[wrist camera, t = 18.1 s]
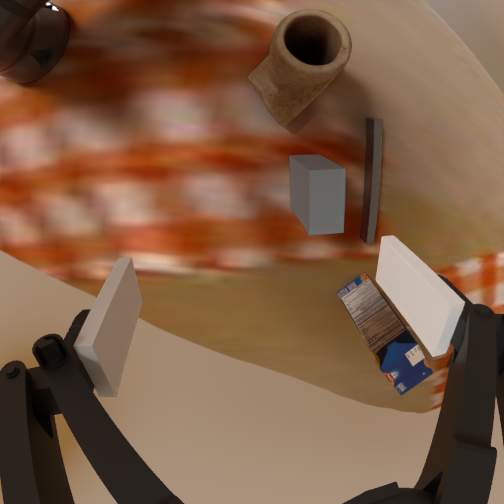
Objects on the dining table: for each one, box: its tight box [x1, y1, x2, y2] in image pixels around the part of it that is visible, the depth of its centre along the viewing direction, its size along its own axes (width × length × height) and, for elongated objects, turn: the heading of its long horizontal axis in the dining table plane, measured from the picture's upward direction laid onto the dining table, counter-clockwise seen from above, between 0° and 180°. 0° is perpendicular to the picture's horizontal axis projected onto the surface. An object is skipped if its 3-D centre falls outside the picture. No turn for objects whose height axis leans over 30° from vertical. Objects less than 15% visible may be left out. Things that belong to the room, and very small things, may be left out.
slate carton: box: [289, 154, 346, 236], centre depth 47 cm, size 9×5×12 cm, turn 4°
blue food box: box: [337, 272, 433, 395], centre depth 54 cm, size 7×11×22 cm, turn 39°
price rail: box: [360, 118, 382, 244], centre depth 52 cm, size 2×22×3 cm, turn 2°
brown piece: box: [248, 9, 352, 127], centre depth 37 cm, size 15×12×15 cm
